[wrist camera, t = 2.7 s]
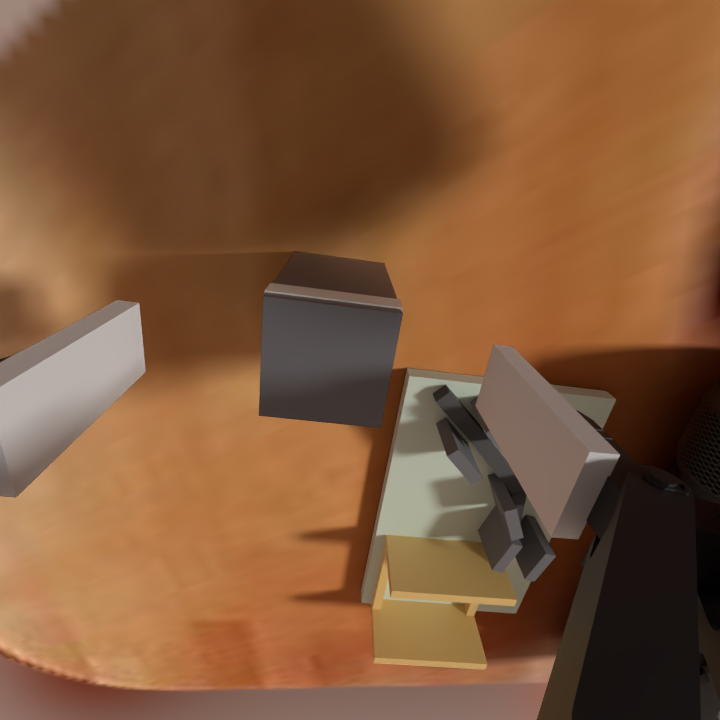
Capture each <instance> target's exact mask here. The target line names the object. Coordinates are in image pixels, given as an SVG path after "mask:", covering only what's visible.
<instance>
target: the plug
mask: <svg viewBox="0 0 720 720" xmlns="http://www.w3.org/2000/svg"><path fill="white" fill-rule="evenodd" d="M402 309H403V307H402V305H401V302H400V299H397V297H396V294H395V291H394V289H393V286H392V283H391V281H390V278H389V275H388V272H387V270H386V267H385V264H384V263H378V262H371V261H364V260H356V259H349V258H341V257H334V256H326V255H319V254H311V253H304V252H297V251H295V252H294V254H293V255H292V256H291V258H290V259H289V261H288V262H287V263H286V265H285V266H284V268H283V269H282V270H281V272H280V273H279V275H278V276H277V278H276V279H275V280H274V282H273V283H270V284H269V285H268V287H267V288H266V289H265V294H264V296H263V316H262V344H261V372H260V401H259V416H268V417H278V418H287V419H297V420H307V421H317V422H326V423H336V424H346V425H356V426H365V427H375V428H381V425H382V420H383V415H384V409H385V404H386V399H387V394H388V388H389V383H390V378H391V373H392V367H393V362H394V357H395V352H396V346H397V341H398V336H399V331H400V325H401V320H402V315H403V313H402Z"/></svg>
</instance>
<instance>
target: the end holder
mask: <svg viewBox="0 0 720 720" xmlns="http://www.w3.org/2000/svg"><path fill="white" fill-rule="evenodd" d="M388 580H389V591H390V598H403V599H417V600H431V601H446V602H460V603H464V605H459V604H444V603H430V602H416V601H402V600H387V599H383V598H384V594H385V589H386V585H387V581H388ZM516 602H517V598H516V595H515V593H514V590H513V587H512V585H511V582H510V580H509V577H508V575H507V572H506V570H504V571H503V572H502V573H500V572H496V571H493V570H492V569H491V566H490V563H489V561H488V558H487V555H486V552H485V549H484V547H483V544H482V542H470V541H458V540H446V539H434V538H421V537H409V536H397V535H386V538H385V543H384V547H383V552H382V556H381V560H380V565H379V569H378V574H377V578H376V582H375V587H374V591H373V596H372V600H371V622H372V644H373V663H381V664H399V665H416V666H434V667H451V668H468V669H486V667H487V665H488V664H487V660H486V657H485V653H484V650H483V646H482V642H481V639H480V635H479V632H478V628H477V624H476V621H475V617H474V615H475V613H476V610H477V608H478V605H479V604H488V605H502V606H515V604H516Z"/></svg>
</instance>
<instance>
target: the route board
mask: <svg viewBox="0 0 720 720" xmlns="http://www.w3.org/2000/svg"><path fill="white" fill-rule="evenodd" d="M483 378H484V377H481V376H473V375H464V374H455V373H447V372H438V371H429V370H420V369H412V368H407V371H406V376H405V381H404V386H403V391H402V396H401V400H400V405H399V410H398V415H397V420H396V424H395V429H394V434H393V439H392V444H391V449H390V453H389V458H388V463H387V468H386V473H385V477H384V482H383V487H382V492H381V497H380V502H379V506H378V511H377V516H376V521H375V526H374V530H373V535H372V540H371V545H370V550H369V555H368V559H367V564H366V569H365V574H364V579H363V583H362V588H361V603H369V604H371V600H372V596H373V591H374V587H375V582H376V578H377V574H378V569H379V565H380V560H381V556H382V552H383V547H384V543H385V538H386V535H397V536H409V537H421V538H434V539H446V540H458V541H470V542H482V544H483V547H484V549H485V552H486V555H487V558H488V561H489V563H490V566H491V569H492V570H493V571H496V572H500V573H502V572H503V571H504V570H506V572H507V575H508V577H509V580H510V582H511V585H512V587H513V590H514V593H515V595H516V598H517V602H516V604H515V606H502V605H488V604H479V605H478V608H477V610H476V611H485V612H499V613H514V614H516V612H517V610H518V608H519V606H520V604H521V602H522V600H523V597H524V595H525V593H526V591H527V589H528V587H529V585H530V583H531V581H533V582H535V580H536V579H537V578H538V577H539V576H540V575H541V573H542V572H543V571H544V570H545V569H546V568H547V566H548V565H549V564H550V563H551V562H552V561H553V559H554V558H555V557H556V555H555V553H554V552H553V550H552V548H551V546H550V544H549V542H550V540H551V538H552V537H550V535H549V533H548V532H547V530H546V528H545V526H544V525H543V523H542V521H541V519H540V518H539V516H538V514H537V512H536V511H535V509H534V507H533V505H532V504H531V502H530V500H529V498H528V497H527V496H526V501H525V505H524V510H523V514H522V519H521V523H520V521H519V516H518V512H517V508H516V506H515V504H514V502H513V500H512V498H511V496H510V494H509V492H508V490H507V488H506V486H505V484H504V482H502V481H501V480H500V479H499V477H498V476H497V475H496V474H495V472H494V471H493V470H492V469H491V467H490V466H489V465H488V464H487V462H486V461H485V460H484V458H483V457H482V456H481V455H480V453H479V452H478V451H477V450H476V448H475V447H474V446H473V444H472V443H471V442H470V441H469V439H468V438H467V437H466V436H465V435H464V433H463V432H462V431H461V430H460V429H459V428H458V427H457V426H456V424H455V423H454V422H453V421H452V420H451V419H450V418H449V416H448V415H447V414H446V413H445V412H444V411H443V410H442V409H441V407H440V406H439V405H438V404H437V403H436V401H435V399H434V396H433V393H434V392H436V391H437V390H438V389H440V388H441V387H443V386H444V385H447V386H448V388H449V389H450V390H451V391H452V392H453V393H454V395H455V396H456V397H457V398H458V399H459V400H460V402H461V403H462V404H463V405H464V406H465V408H466V409H467V410H468V411H469V412H470V413H471V415H472V416H473V417H474V418H475V419H476V421H477V422H478V423H479V425H480V426H481V427H482V428H483V430H484V431H485V432H486V434H487V435H488V436H489V438H490V439H491V440H492V442H493V443H494V444H495V446H496V447H497V448H498V450H499V451H500V452H501V454H502V455H503V453H502V451H501V450H500V448H499V446H498V444H497V443H496V441H495V439H494V437H493V436H492V434H491V432H490V430H489V429H488V427H487V425H486V423H485V422H484V420H483V418H482V416H481V415H480V413H479V411H478V409H477V408H476V402H477V399H478V395H479V392H480V389H481V385H482V382H483ZM550 385H551V384H550ZM551 386H552V387H553V388H554V389H555V390H556V391H557V392H558V393H559V394H560V395H561V396H562V397H563V398H564V399H565V400H566V401H567V402H568V403H569V404H570V405H571V406H572V407H573V408H574V409H575V410H578V411H580V412H581V413H583V414H584V415H586V416H588V417H589V418H591V419H592V420H594V421H595V422H596V423H597V424H598V425H599V426H600V427H601V428H602V429H603V427H604V425H605V423H606V421H607V419H608V417H609V414H610V412H611V410H612V408H613V406H614V404H615V402H616V399H615V398H614V397H613V396H612V395H611V394H609V393H608V392H607V391H603V390H594V389H586V388H577V387H568V386H560V385H551ZM503 456H504V455H503ZM504 458H505V457H504ZM505 459H506V458H505ZM383 599H387V600H402V601H416V602H430V603H444V604H459V605H464V603H460V602H446V601H431V600H417V599H403V598H390V591H389V580H388V581H387V585H386V589H385V594H384V598H383Z"/></svg>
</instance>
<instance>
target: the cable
mask: <svg viewBox="0 0 720 720" xmlns="http://www.w3.org/2000/svg"><path fill="white" fill-rule="evenodd" d="M433 396H434V399H435V401H436V403H437V404H438V405H439V406H440V407H441V409H442V410H443V411H444V412H445V413H446V414H447V415H448V416H449V418H450V419H451V420H452V421H453V422H454V423H455V424H456V426H457V427H458V428H459V429H460V430H461V431H462V432H463V433H464V435H465V436H466V437H467V438H468V439H469V441H470V442H471V443H472V444H473V446H474V447H475V448H476V450H477V451H478V452H479V453H480V455H481V456H482V457H483V458H484V460H485V461H486V462H487V464H488V465H489V466H490V467H491V469H492V470H493V471H494V472H495V474H496V475H497V476H498V477H499V479H500V480H501V481H502V482H504V484H505V486H506V488H507V490H508V492H509V494H510V496H511V498H512V500H513V502H514V504H515V506H516V508H517V512H518V516H519V521H520V523H521V519H522V514H523V510H524V505H525V501H526V496H527V495H526V493H525V491H524V490H523V488H522V486H521V484H520V483H519V481H518V479H517V477H516V476H515V474H514V472H513V470H512V469H511V467H510V465H509V463H508V462H507V460H506V459H505V458H504V456H503V455H502V454H501V452H500V451H499V450H498V448H497V447H496V446H495V444H494V443H493V442H492V440H491V439H490V438H489V436H488V435H487V434H486V432H485V431H484V430H483V428H482V427H481V426H480V425H479V423H478V422H477V421H476V419H475V418H474V417H473V416H472V415H471V413H470V412H469V411H468V410H467V409H466V408H465V406H464V405H463V404H462V403H461V402H460V400H459V399H458V398H457V397H456V396H455V395H454V393H453V392H452V391H451V390H450V389H449V388H448V386H447V385H444V386H443V387H441V388H440V389H438V390H437V391H436V392H434V393H433Z"/></svg>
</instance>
